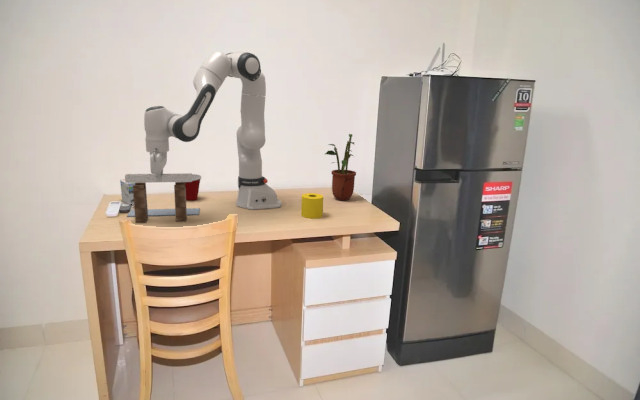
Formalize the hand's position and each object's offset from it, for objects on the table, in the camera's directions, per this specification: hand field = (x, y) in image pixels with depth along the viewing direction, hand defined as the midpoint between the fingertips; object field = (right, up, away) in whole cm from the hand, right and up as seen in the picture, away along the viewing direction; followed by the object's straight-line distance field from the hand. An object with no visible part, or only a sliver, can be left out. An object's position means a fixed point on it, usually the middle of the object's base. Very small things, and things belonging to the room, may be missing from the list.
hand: (159, 179), depth 175 cm
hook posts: (-1, -17, +5) cm, 18 cm away
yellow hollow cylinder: (+63, -16, +21) cm, 68 cm away
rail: (0, -1, 0) cm, 1 cm away
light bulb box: (-24, -10, +28) cm, 38 cm away
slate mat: (-3, -14, +14) cm, 20 cm away
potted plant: (+77, -8, +50) cm, 92 cm away
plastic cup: (+2, -8, +37) cm, 38 cm away
